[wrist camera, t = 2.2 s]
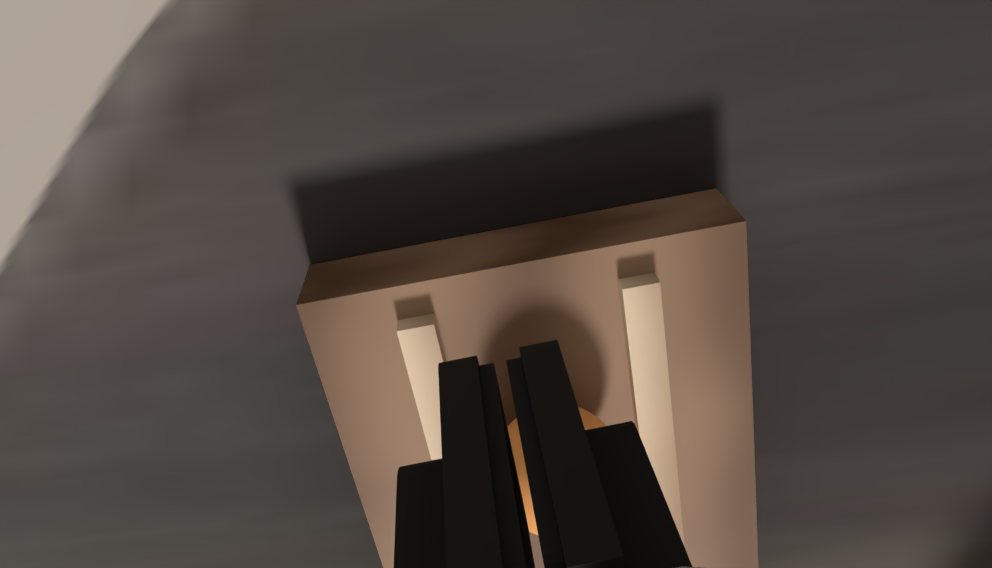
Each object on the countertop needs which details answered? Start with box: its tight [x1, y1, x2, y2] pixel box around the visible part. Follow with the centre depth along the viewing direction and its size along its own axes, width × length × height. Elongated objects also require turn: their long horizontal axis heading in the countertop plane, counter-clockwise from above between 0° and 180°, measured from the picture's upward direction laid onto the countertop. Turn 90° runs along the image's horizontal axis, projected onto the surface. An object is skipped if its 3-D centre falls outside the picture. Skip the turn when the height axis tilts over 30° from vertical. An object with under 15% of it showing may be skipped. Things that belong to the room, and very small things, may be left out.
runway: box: [296, 188, 758, 568], centre depth 27 cm, size 12×24×3 cm, turn 10°
